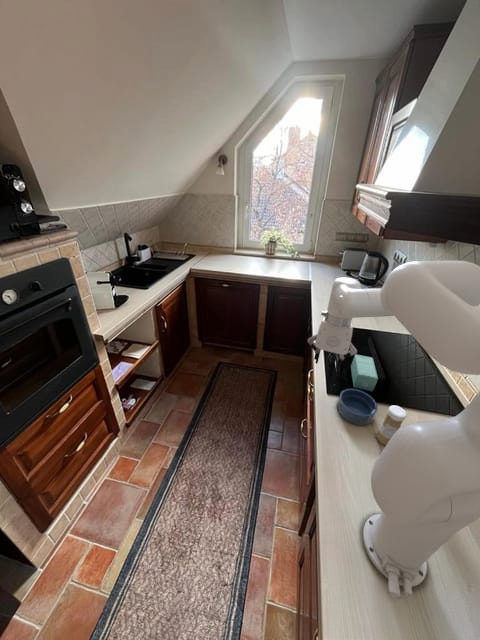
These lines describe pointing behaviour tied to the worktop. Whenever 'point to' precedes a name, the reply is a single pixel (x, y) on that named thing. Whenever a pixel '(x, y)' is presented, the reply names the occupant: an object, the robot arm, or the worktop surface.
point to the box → (364, 373)
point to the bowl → (357, 406)
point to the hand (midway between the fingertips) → (327, 363)
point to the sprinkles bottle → (391, 423)
